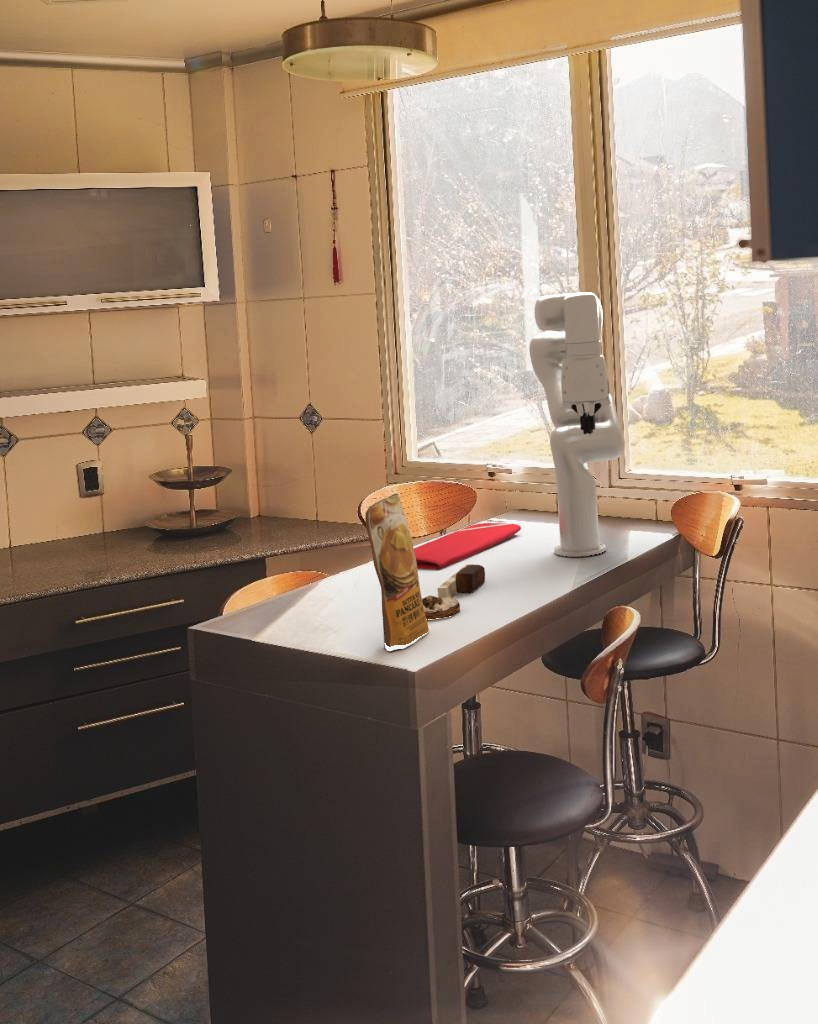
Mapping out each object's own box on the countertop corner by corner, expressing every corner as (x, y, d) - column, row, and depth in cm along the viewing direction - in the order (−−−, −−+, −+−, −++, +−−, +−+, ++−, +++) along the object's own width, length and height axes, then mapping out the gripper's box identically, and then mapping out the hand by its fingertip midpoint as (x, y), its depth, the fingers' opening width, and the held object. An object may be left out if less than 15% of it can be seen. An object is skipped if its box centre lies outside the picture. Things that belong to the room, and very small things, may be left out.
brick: (473, 594, 265) (472, 573, 264) (456, 594, 267) (454, 573, 266) (486, 582, 275) (484, 562, 274) (469, 582, 276) (468, 562, 276)
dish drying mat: (388, 568, 300) (386, 554, 299) (473, 534, 333) (472, 521, 332) (441, 572, 291) (439, 557, 290) (523, 536, 324) (522, 523, 323)
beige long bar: (466, 576, 281) (465, 564, 281) (475, 576, 281) (474, 564, 280) (438, 601, 261) (437, 588, 260) (447, 601, 260) (446, 588, 260)
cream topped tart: (406, 605, 261) (404, 586, 261) (473, 605, 257) (471, 586, 256) (386, 624, 247) (384, 604, 247) (456, 624, 243) (455, 604, 242)
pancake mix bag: (365, 654, 226) (351, 508, 221) (408, 626, 243) (396, 489, 238) (398, 656, 223) (384, 507, 219) (438, 627, 240) (427, 489, 235)
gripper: (546, 354, 264) (551, 437, 267) (614, 349, 259) (619, 434, 263) (553, 351, 271) (558, 432, 274) (619, 347, 266) (624, 429, 269)
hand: (588, 433), depth 268 cm, fingers closed
